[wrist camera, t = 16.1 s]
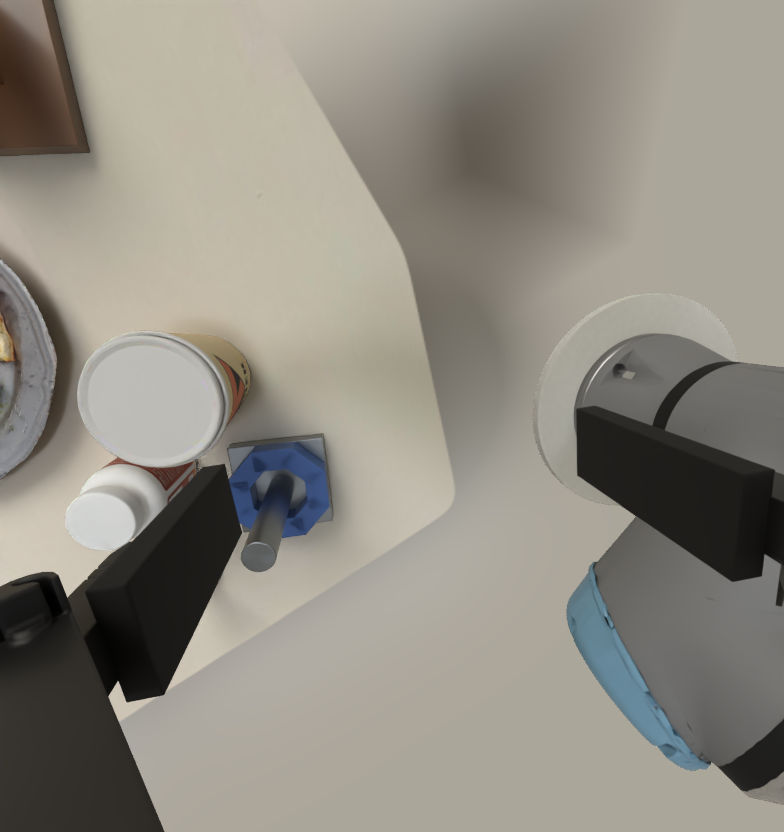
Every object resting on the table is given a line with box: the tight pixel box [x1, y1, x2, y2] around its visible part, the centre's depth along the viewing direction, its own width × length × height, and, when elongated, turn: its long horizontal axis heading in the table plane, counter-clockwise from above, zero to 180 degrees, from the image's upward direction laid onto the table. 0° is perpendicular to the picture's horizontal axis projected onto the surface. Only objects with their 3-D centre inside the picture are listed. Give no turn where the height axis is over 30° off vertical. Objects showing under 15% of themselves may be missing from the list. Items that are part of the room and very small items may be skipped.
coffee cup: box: [77, 331, 250, 468], centre depth 32 cm, size 9×9×12 cm
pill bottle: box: [65, 457, 196, 551], centre depth 34 cm, size 6×6×11 cm
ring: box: [229, 441, 330, 538], centre depth 39 cm, size 9×9×2 cm
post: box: [227, 434, 333, 572], centre depth 35 cm, size 9×9×14 cm
